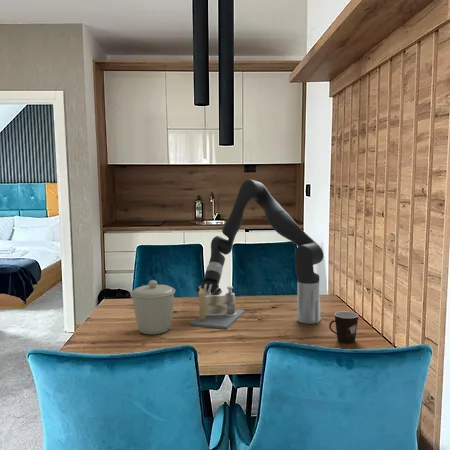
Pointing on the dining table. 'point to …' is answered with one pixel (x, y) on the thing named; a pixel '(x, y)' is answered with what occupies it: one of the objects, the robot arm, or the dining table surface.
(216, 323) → the board
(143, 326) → the canister
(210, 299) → the white wavy panel
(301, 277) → the robot arm
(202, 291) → the post
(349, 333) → the coffee mug
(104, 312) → the dining table surface
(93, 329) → the dining table surface
